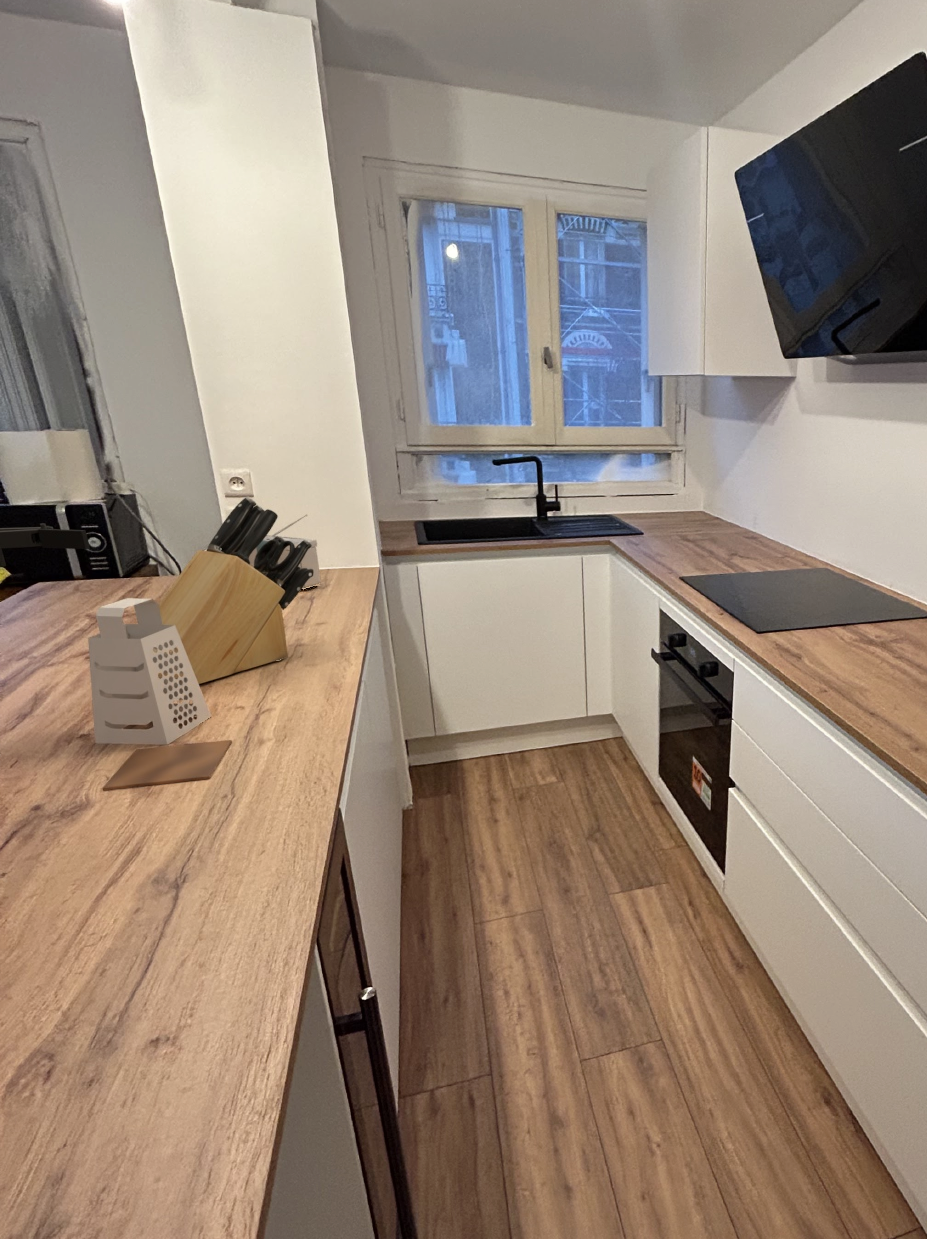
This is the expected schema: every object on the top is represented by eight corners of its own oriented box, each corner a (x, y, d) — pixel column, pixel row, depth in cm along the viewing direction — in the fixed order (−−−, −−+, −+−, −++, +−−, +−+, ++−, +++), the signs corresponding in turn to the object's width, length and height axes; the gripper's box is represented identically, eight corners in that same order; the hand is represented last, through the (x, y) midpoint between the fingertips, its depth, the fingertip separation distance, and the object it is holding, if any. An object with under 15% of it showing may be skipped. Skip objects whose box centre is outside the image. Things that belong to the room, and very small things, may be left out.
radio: (243, 585, 201) (230, 512, 195) (268, 579, 209) (256, 509, 202) (302, 592, 195) (291, 517, 188) (326, 586, 203) (316, 514, 196)
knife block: (331, 646, 152) (309, 496, 142) (153, 701, 122) (108, 515, 111) (294, 639, 156) (270, 492, 146) (113, 690, 126) (67, 509, 116)
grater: (211, 716, 117) (186, 595, 110) (167, 744, 107) (137, 613, 100) (145, 715, 116) (116, 593, 110) (95, 743, 106) (59, 611, 100)
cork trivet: (102, 790, 94) (102, 787, 94) (136, 751, 104) (136, 748, 104) (209, 778, 97) (209, 776, 97) (232, 742, 108) (231, 739, 108)
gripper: (-12, 553, 115) (120, 557, 114) (-199, 588, 91) (-33, 594, 91) (-26, 505, 112) (109, 509, 112) (-222, 528, 89) (-52, 534, 88)
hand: (46, 547), depth 101 cm, fingers open, 13 cm apart
